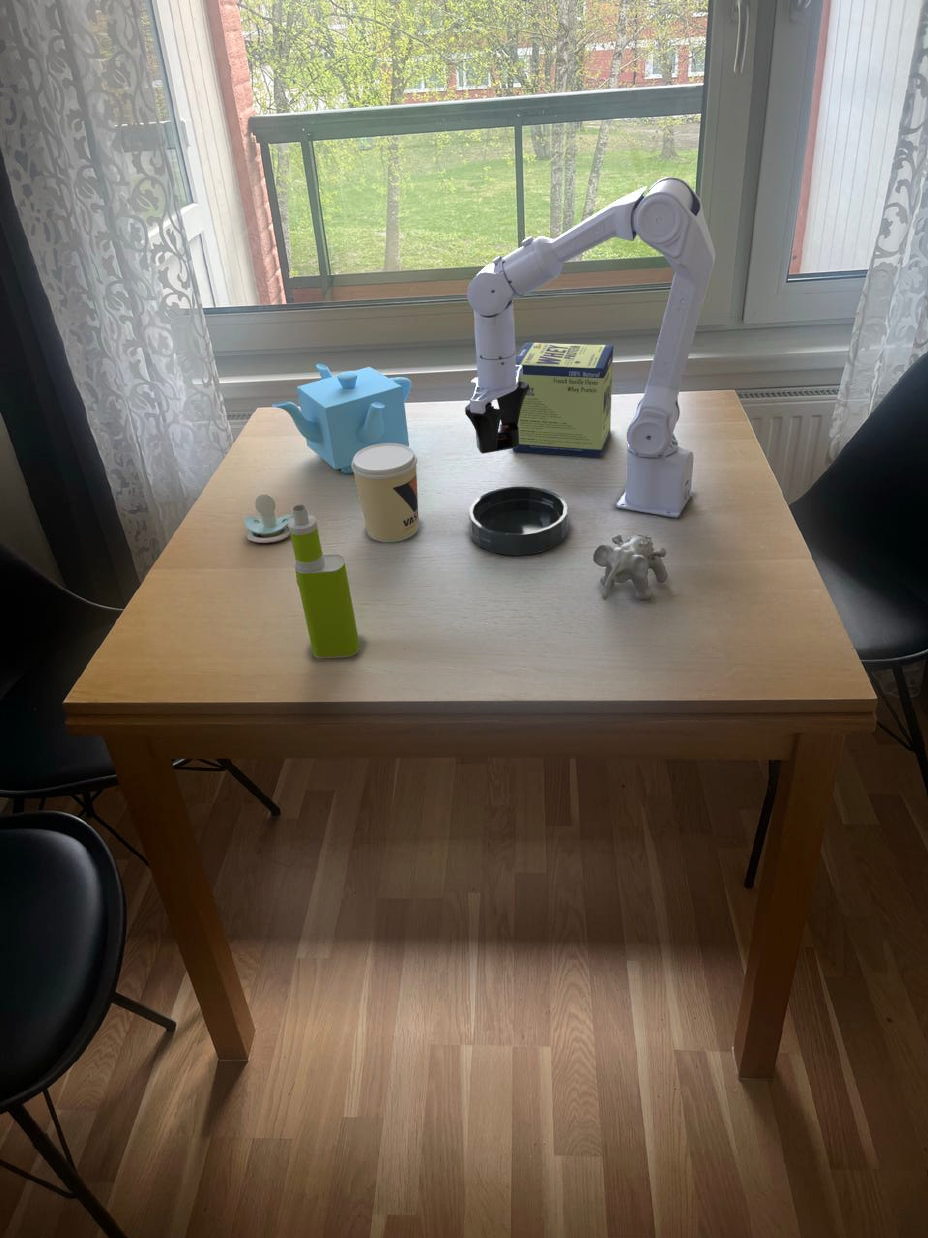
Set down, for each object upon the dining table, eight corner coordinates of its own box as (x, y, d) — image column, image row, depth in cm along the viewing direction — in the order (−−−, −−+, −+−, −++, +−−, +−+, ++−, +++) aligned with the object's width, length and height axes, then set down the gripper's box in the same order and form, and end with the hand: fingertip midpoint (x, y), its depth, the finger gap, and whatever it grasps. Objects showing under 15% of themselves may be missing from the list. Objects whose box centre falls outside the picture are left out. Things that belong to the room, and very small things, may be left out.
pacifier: (290, 544, 133) (297, 523, 138) (282, 508, 129) (289, 487, 134) (242, 547, 134) (250, 525, 138) (232, 510, 130) (241, 490, 134)
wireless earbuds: (525, 447, 138) (524, 428, 136) (480, 455, 137) (479, 436, 135) (516, 435, 141) (516, 416, 139) (473, 443, 140) (471, 423, 138)
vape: (313, 640, 113) (284, 500, 101) (360, 638, 113) (336, 497, 101) (309, 659, 110) (278, 517, 98) (358, 656, 110) (332, 514, 98)
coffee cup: (415, 546, 130) (407, 472, 123) (354, 543, 132) (342, 470, 125) (430, 514, 137) (422, 442, 130) (371, 512, 139) (361, 441, 132)
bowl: (581, 516, 134) (581, 494, 132) (545, 564, 124) (545, 542, 122) (495, 500, 139) (494, 480, 137) (454, 546, 129) (452, 524, 127)
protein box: (602, 458, 149) (605, 367, 140) (511, 452, 153) (508, 363, 144) (612, 431, 157) (615, 344, 148) (525, 426, 161) (522, 341, 152)
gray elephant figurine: (668, 572, 120) (672, 523, 116) (661, 625, 111) (665, 574, 106) (599, 567, 122) (600, 518, 118) (586, 618, 113) (587, 567, 109)
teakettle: (423, 435, 161) (415, 354, 152) (393, 484, 146) (382, 398, 138) (324, 431, 165) (311, 353, 156) (285, 478, 150) (268, 395, 142)
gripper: (491, 334, 137) (496, 417, 145) (448, 367, 127) (455, 455, 135) (534, 338, 134) (536, 423, 142) (493, 373, 124) (498, 462, 132)
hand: (499, 439), depth 138 cm, fingers closed on wireless earbuds, 7 cm apart
